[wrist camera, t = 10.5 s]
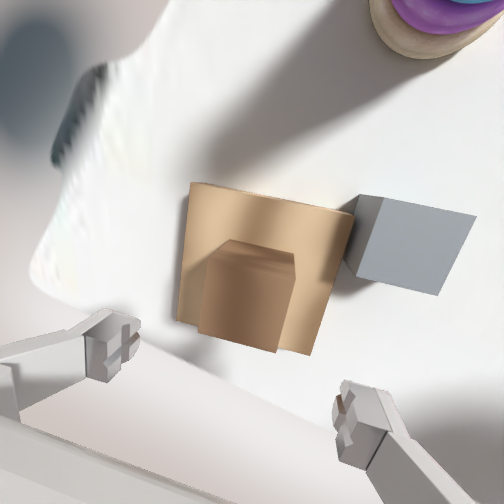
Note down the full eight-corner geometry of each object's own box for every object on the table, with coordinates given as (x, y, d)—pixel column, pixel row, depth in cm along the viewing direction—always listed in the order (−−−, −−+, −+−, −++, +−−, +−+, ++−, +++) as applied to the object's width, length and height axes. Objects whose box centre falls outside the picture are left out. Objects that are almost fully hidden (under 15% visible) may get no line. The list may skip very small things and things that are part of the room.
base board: (346, 212, 18) (355, 216, 16) (307, 337, 22) (310, 355, 20) (202, 182, 19) (190, 182, 17) (187, 306, 23) (176, 320, 21)
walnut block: (293, 253, 17) (295, 279, 13) (279, 310, 19) (275, 353, 14) (229, 239, 18) (208, 258, 13) (220, 296, 19) (197, 332, 15)
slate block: (426, 207, 18) (477, 216, 13) (400, 268, 19) (437, 295, 14) (359, 194, 18) (384, 197, 13) (339, 254, 19) (355, 276, 15)
